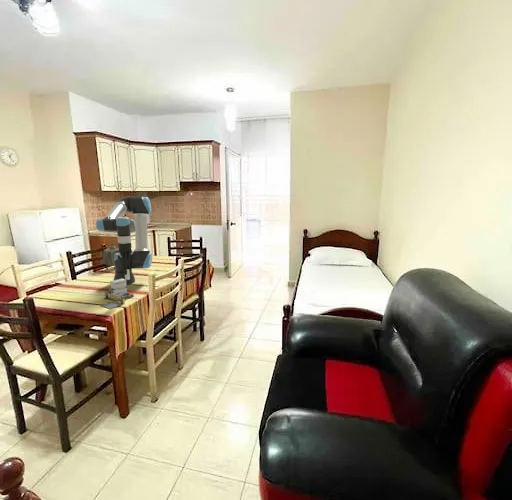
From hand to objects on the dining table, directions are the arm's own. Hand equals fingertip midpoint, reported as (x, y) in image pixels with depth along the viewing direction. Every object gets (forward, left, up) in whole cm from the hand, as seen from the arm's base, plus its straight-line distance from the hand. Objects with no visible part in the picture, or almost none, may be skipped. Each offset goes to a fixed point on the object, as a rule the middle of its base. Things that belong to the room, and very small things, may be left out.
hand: (127, 279), depth 192 cm
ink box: (0, -10, -14) cm, 17 cm away
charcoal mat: (+11, -2, -14) cm, 18 cm away
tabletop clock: (-42, -75, -14) cm, 87 cm away
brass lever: (+5, -7, -14) cm, 16 cm away
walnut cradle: (+1, -10, -14) cm, 17 cm away
